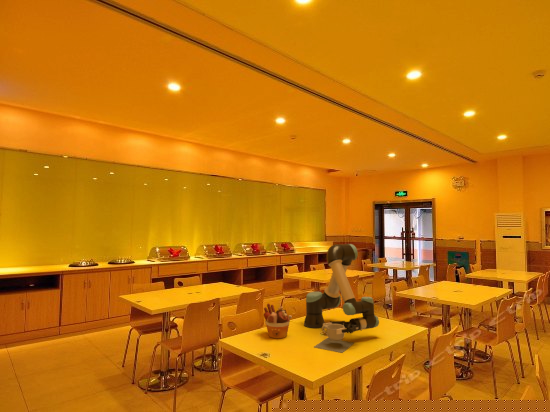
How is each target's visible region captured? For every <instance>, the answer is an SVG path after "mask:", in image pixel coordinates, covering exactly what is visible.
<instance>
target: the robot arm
mask: <svg viewBox="0 0 550 412" xmlns="http://www.w3.org/2000/svg"><path fill="white" fill-rule="evenodd" d="M358 253H359V251H358V250H357V247H356V246H355V245H354V244H352V243H343V244H341V243H338V244H337V243H334V244H332V245H331V246H329V248H328V249H327V252H326V262H327V265H328V267H330V269H331V270H332V273H331V277H330V279H329V281H328V285H327V287H325V288H324V291H323V292H321V291H310V292H308V293H306V296H305V303H306V304H305V306H306V307H305V308H306V309H305V311H306V313H305V316H304V321H303V326H304V327H306V328H309V329H322V326H323V325H326V326H327V325H329V324H341V325H343V326H344V327H345V328H341V329H336V334H342V333H344V334H350V335H351V334H353V333H354V332H358V331H361V332H362V330H369V329H374V328H377V327H378V326H379V324H380V320H379V318H378V316H377V315H375V302H374V298H373V297H371V296H362V297H361V299H360V300H359V301H357V299H356V296H355V294H354V292H353V289H352V287H351V284H350V281H349V279H348V276H347V274H346V273H347V269H348V267H349V266H351V265H352V262H353V261H356V260H357V258H358V256H359V254H358ZM340 294H341V295H340ZM341 298H342V299H341ZM341 300H343V303H344V304H342V311H343V313H344V314H345V315H346V316H354V315H359V314H362V316H359V317H354V318H350V319H349V321H345V320H337V321H334V320H333V321H332V320H331V321H329V322H325V318H324V316H323V315H324V314H323V311H324V310H330V309H336V308H338V307H339V306H340V304H341V302H342V301H341ZM325 329H326V327H324V330H325Z"/></svg>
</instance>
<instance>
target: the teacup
mask: <svg viewBox="0 0 550 412" xmlns="http://www.w3.org/2000/svg"><path fill="white" fill-rule="evenodd" d="M324 327H326V328H325V329H326V330H325V329H324ZM341 328H345V327H344V326H343V325H341V324H329V325H327V326H326V325H323V326H322V328H321V330H322V332H323V333H324V334H325V335H326V337H327V338H329V339H330V340H332V341H340V340H343V339H344V338H345V333H342V334H336V329H341Z"/></svg>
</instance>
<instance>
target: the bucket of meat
mask: <svg viewBox="0 0 550 412" xmlns="http://www.w3.org/2000/svg"><path fill="white" fill-rule="evenodd" d="M283 308H284V307H283V306H280V307H278V308H277V309H278V310H276V309H275V306H274V304H270V303H267V304H266V307H264V308H263V309H264V313H263V318H264V319H265V321H264V322H265V324H266V325H265V326H266V329H267V334H268V336H269V337H270V338H271V339H275V340H276V339H277V340H279V339H284V338H286V337H287V335H288V332H289V328H290V327H289V326H290V322H291V319H292V318H293V316H292V315H291V314H289V315H288V313H287V310H286V309H283Z"/></svg>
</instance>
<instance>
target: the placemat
mask: <svg viewBox="0 0 550 412" xmlns="http://www.w3.org/2000/svg"><path fill="white" fill-rule="evenodd" d="M354 344H355V342H353V341H348V340H343V339H342V340H340V341H332V340H330V339H329V338H328V337H327V338H324V339H323V340H322V341H320V342H319V343H317V344H316V345H314V346H313V348H314V349H315V348H316V349H321V350H324V351H325V350H326V351H331V352H335V353H340V354H343V353H345V351H347V350H348V349H349V348H350V347H351V346H353V345H354Z"/></svg>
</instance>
